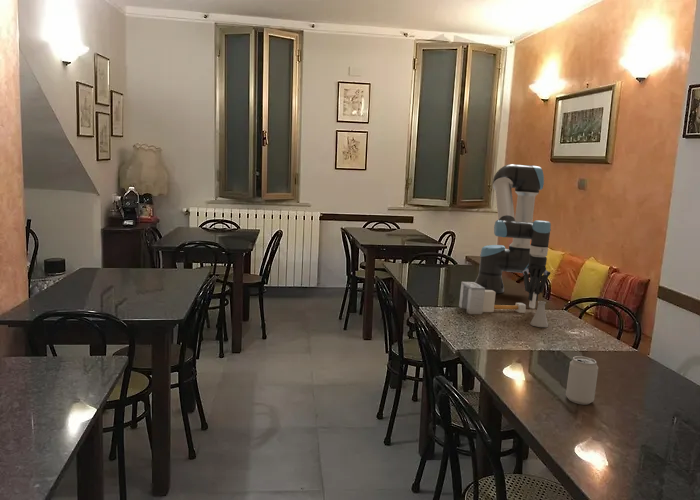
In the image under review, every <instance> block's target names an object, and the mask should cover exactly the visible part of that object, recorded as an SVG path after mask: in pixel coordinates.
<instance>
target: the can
mask: <svg viewBox="0 0 700 500" xmlns="http://www.w3.org/2000/svg"><path fill="white" fill-rule="evenodd" d="M597 363H598V362H597V361H596V360H595V359H594V358H591V357H587V356H581V355H578V356H577V355H576V356H573V357H572V360H571V361H569V368H568V375H567V382H566V383H567V384H566V389H565V396H566V397H567V399H568V401H570V402H572V403H573V404H574V403H575V404H578V405H590V404H591V403H593V402H594V401H595V397H596V396H595V395H596V388H597V381H598V380H597V379H598V373H599V366H598V364H597Z"/></svg>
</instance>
